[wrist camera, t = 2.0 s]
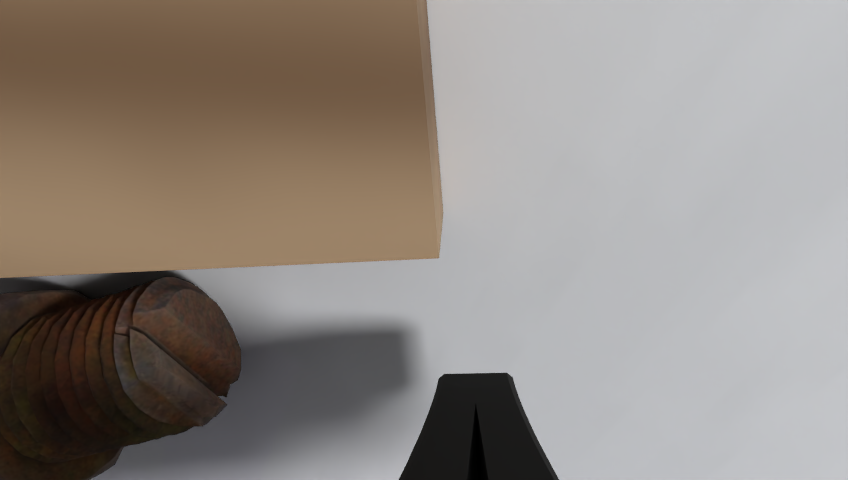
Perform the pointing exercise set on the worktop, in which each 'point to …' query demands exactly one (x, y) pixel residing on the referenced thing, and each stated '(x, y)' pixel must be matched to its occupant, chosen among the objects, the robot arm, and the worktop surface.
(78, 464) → the bolt
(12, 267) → the walnut board
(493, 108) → the worktop surface
